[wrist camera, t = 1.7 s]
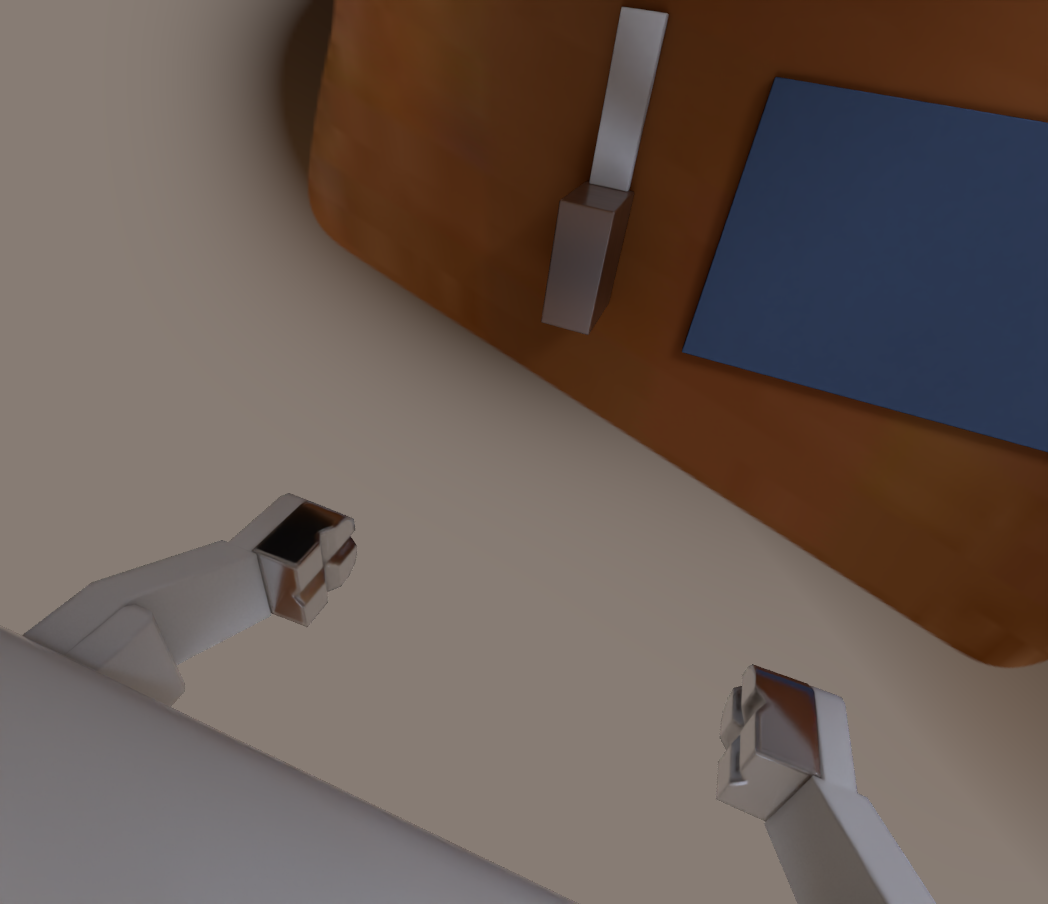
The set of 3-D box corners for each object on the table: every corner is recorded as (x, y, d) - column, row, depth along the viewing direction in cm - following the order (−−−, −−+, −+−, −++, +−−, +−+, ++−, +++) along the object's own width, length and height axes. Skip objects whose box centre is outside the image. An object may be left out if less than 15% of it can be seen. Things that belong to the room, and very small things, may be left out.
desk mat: (775, 76, 23) (775, 77, 23) (1353, 174, 19) (1362, 176, 19) (682, 349, 31) (681, 352, 31) (1077, 457, 28) (1081, 461, 27)
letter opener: (608, 303, 31) (588, 335, 28) (565, 292, 32) (540, 322, 28) (676, 14, 23) (659, 9, 20) (616, 5, 24) (590, -2, 20)
